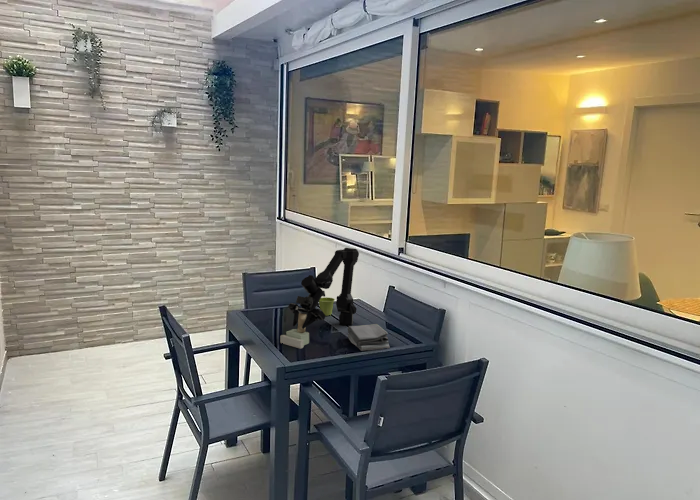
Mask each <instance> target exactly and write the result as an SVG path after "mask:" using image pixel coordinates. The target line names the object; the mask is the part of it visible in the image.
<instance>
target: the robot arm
mask: <svg viewBox="0 0 700 500" xmlns="http://www.w3.org/2000/svg"><path fill="white" fill-rule="evenodd" d="M359 255H360V252H359V251H358V249H357V248H351V247H345V248H344V249H337V250H335V251H334V255H333V256H332V258H331V260H330V261H329V262H328V264H327V266H326V267H325V269H324V270H323V271H321V272H319V273H318V274H317V276H314V275H312V274H308V276H306V277H304V278H303V279H302V280H301V283H300V284H301V287H303V289H304V290H305V292H306V293H308V296H300V295H297V297H296V301H295V303H293V302H291V303H289V304H288V306H287V308H288V310H290V311H291V313H292V314H293V320H292V327H296V326H297V325H298V317H299V313H305V314H307V316H306V320H305V322H304V324H303V326H302V328H303V329H304V328H305V327H306V328H307V327H308V326H309V325H311V324H313V323H314V322H317V321H318V320H320V321H325V318H326V316H325V314H324V313H323V311H322V310H321V309H320V308H316V307H320V305H319V301H320V299H321V298H324V297H326V292H325V290H328V289H329V288H330V287H331V286H332V284H333V277H334V276H335V274H336V273H337V270H339V269H338V268H339V266H340V265H341V264H343V273H342V283H341V291H340V294H339V295H337V296H336V300H335V305H336V310H337V312H338V313H340V314H339V315H338V322H339V325H340V326H348V327H350V326H353V324H354V315H355V314H356V313H357V307H356V305H354V298H353V295H352V288H353V287H352V284H353V278H354V277H353V276H354V269H355V265H356V264H357V262H359V261H358V260H359ZM342 262H343V263H342ZM323 289H325V290H323ZM306 328H305V329H306Z"/></svg>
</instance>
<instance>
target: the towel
mask: <svg viewBox="0 0 700 500" xmlns="http://www.w3.org/2000/svg"><path fill="white" fill-rule="evenodd" d="M347 333H348V334H347V338H348V340H349V341H350V343H351V344H353V346H354V345H355V347H357V348H358V349H359V350H360V351H362V352H363V351H371V350H373V351H374V350H384V349H383V348H387V349H390V347H391V346H390V344H389V343H390V342H389V338H388V332H387V331H386V330H385V329H383V327H381V325H379V324H377V323H372V324H362V325H352V326H348V327H347Z"/></svg>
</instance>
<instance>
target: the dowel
mask: <svg viewBox="0 0 700 500" xmlns="http://www.w3.org/2000/svg"><path fill="white" fill-rule="evenodd" d="M306 318H307V313H303V312H301V313H299V317H298V323H297V328H296V329H297V332H298V333H304V332H306V328H307V327H305V328H304V329H303V328H302V326H303V324H304V322H305V320H306Z"/></svg>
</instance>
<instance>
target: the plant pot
mask: <svg viewBox="0 0 700 500" xmlns="http://www.w3.org/2000/svg"><path fill="white" fill-rule="evenodd" d="M335 302H336V299H335V298H333V297H328V296H325V297H324V296H323V297H321V299H320V301H319V303H318V304H319V309H321V310H322V311H323V313H324V314H325V317H327V316H329V315H330V316H332V315H333V314H332V313H333V309H334V308H333V307H334V303H335ZM331 314H332V315H331Z"/></svg>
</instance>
